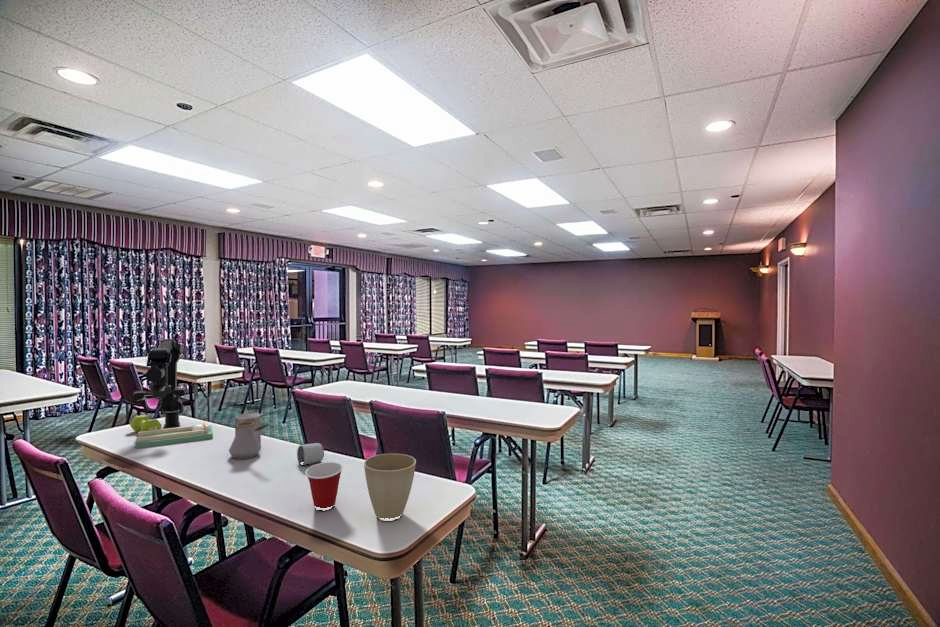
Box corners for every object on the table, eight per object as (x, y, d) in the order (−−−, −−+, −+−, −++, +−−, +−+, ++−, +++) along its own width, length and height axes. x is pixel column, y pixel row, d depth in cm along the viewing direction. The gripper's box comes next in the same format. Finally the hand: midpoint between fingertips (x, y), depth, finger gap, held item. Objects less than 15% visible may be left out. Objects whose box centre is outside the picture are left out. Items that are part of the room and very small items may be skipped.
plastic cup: (296, 510, 134) (297, 470, 134) (324, 497, 143) (324, 459, 143) (323, 519, 129) (323, 477, 129) (350, 504, 138) (350, 465, 138)
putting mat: (138, 438, 202) (138, 427, 202) (211, 429, 217) (211, 419, 217) (135, 448, 188) (135, 436, 188) (212, 438, 203) (212, 427, 203)
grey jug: (240, 444, 195) (240, 409, 195) (264, 443, 196) (264, 409, 196) (231, 451, 186) (230, 415, 185) (256, 451, 187) (255, 415, 186)
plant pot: (402, 531, 122) (403, 473, 122) (353, 524, 126) (354, 467, 126) (423, 508, 137) (423, 455, 136) (378, 501, 141) (379, 450, 140)
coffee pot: (223, 457, 179) (223, 419, 179) (250, 449, 189) (250, 413, 189) (254, 468, 168) (254, 427, 167) (282, 459, 177) (282, 421, 177)
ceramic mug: (325, 463, 174) (325, 443, 174) (304, 468, 168) (304, 447, 168) (313, 456, 181) (313, 437, 181) (293, 461, 176) (293, 441, 176)
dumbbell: (162, 434, 208) (162, 418, 208) (142, 438, 202) (142, 422, 202) (148, 428, 218) (148, 413, 218) (128, 431, 211) (128, 416, 211)
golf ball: (203, 425, 211) (191, 429, 208) (202, 421, 208) (190, 425, 205) (206, 435, 209) (193, 439, 206) (205, 430, 206) (193, 434, 203)
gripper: (131, 382, 187) (131, 420, 187) (184, 379, 197) (184, 414, 197) (133, 378, 196) (134, 414, 197) (184, 375, 206) (184, 409, 207)
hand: (159, 413), depth 199 cm, fingers open, 9 cm apart
